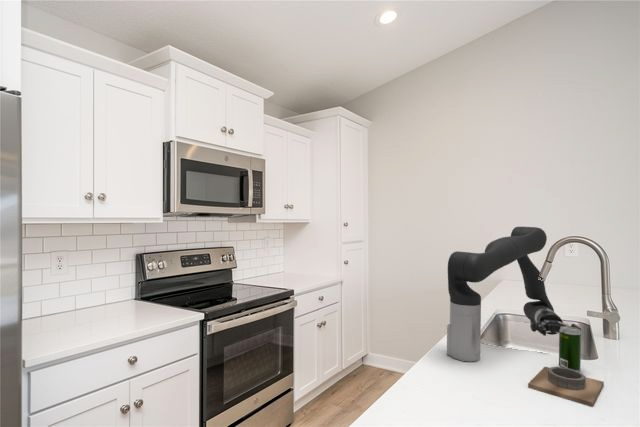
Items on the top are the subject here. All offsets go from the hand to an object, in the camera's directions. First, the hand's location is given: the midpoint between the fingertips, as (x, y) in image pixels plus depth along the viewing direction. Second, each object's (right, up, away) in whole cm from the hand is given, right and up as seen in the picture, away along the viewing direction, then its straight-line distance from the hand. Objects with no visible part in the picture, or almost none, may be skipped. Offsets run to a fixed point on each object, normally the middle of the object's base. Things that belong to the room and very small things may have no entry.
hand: (559, 334), depth 123 cm
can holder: (-12, -7, -22) cm, 26 cm away
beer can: (-4, -7, -10) cm, 13 cm away
